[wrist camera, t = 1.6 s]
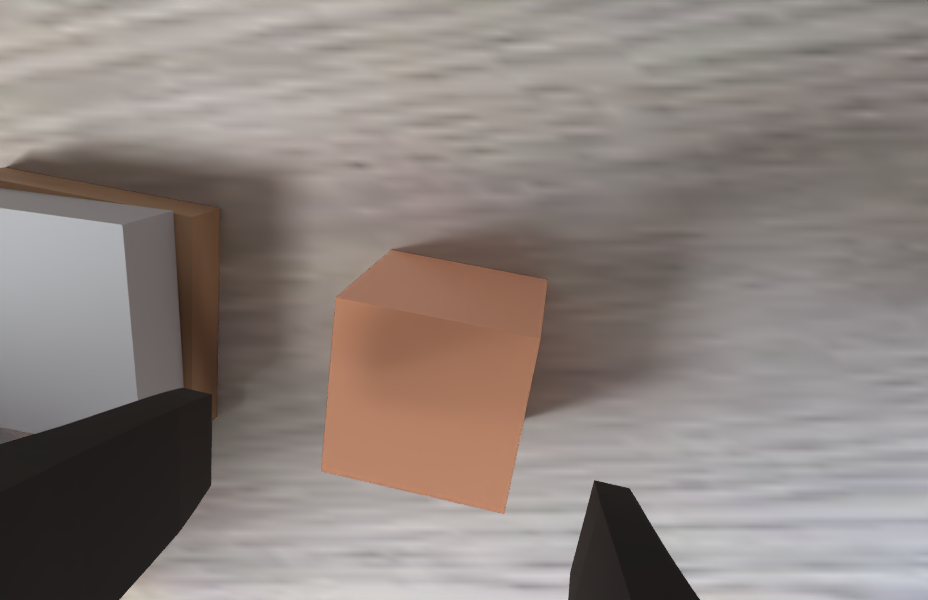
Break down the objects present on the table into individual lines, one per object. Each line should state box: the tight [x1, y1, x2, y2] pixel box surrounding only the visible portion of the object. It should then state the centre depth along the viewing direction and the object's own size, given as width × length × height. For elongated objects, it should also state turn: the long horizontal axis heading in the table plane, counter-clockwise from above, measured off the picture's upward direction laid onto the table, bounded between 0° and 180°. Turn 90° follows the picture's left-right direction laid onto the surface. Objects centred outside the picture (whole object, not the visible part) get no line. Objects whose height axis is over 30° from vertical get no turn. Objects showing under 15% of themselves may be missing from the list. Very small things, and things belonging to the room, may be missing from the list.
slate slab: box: [0, 188, 184, 434], centre depth 17 cm, size 6×6×2 cm
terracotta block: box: [321, 250, 548, 514], centre depth 16 cm, size 4×4×4 cm
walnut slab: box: [0, 168, 220, 420], centre depth 19 cm, size 7×7×2 cm
